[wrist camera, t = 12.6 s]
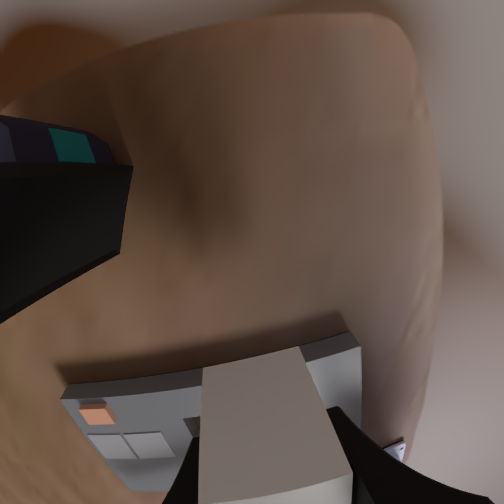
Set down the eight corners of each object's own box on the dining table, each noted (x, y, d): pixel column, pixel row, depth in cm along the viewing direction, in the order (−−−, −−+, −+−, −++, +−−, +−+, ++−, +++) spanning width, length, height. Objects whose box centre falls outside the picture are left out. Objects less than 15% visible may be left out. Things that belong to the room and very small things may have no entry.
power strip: (353, 440, 24) (362, 459, 21) (134, 476, 23) (131, 495, 21) (350, 331, 20) (364, 350, 18) (68, 384, 20) (57, 404, 17)
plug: (309, 410, 13) (349, 521, 7) (227, 428, 13) (237, 545, 7) (298, 345, 12) (352, 472, 6) (202, 367, 12) (198, 504, 6)
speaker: (164, 172, 16) (50, 177, 6) (119, 255, 18) (6, 335, 8) (73, 114, 15) (-54, 90, 5) (37, 193, 17) (-86, 220, 7)
